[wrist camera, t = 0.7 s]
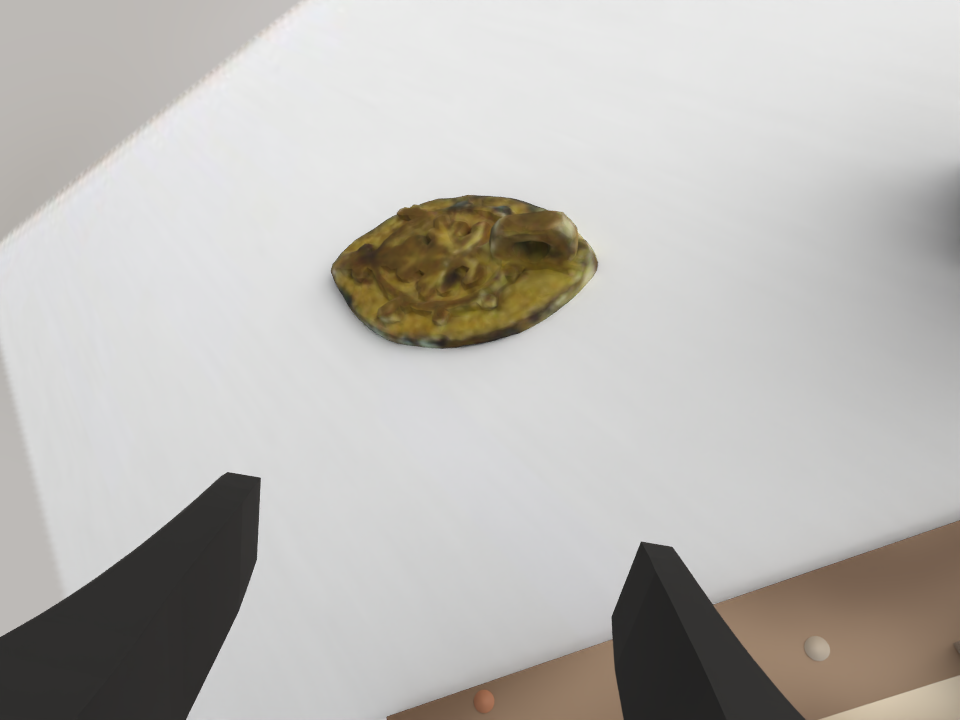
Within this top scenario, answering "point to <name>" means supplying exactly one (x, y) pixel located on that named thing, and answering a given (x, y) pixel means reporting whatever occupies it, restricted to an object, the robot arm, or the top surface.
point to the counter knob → (957, 646)
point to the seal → (463, 271)
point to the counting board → (789, 646)
